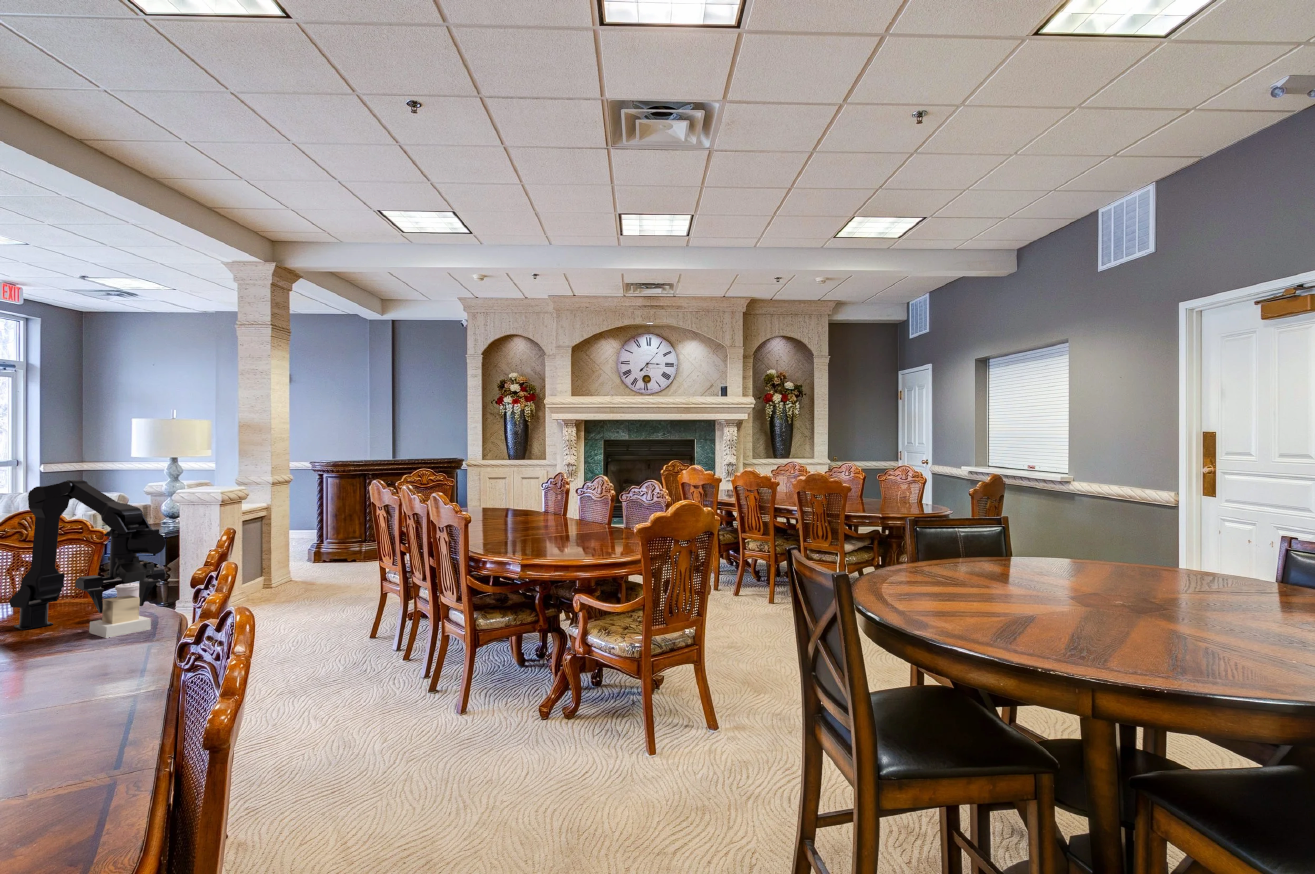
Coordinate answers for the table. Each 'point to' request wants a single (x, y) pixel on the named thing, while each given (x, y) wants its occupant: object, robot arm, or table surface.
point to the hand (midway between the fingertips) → (121, 609)
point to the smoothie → (127, 589)
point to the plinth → (119, 627)
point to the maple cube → (120, 609)
